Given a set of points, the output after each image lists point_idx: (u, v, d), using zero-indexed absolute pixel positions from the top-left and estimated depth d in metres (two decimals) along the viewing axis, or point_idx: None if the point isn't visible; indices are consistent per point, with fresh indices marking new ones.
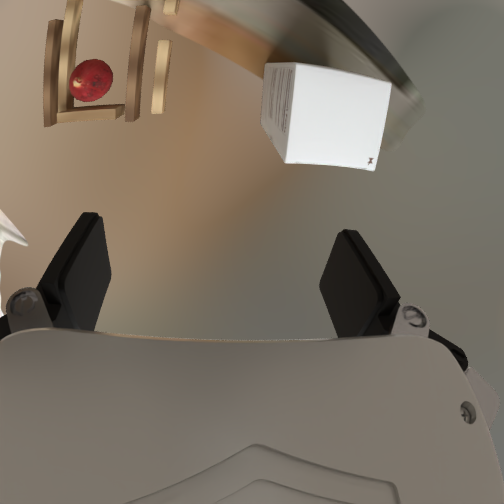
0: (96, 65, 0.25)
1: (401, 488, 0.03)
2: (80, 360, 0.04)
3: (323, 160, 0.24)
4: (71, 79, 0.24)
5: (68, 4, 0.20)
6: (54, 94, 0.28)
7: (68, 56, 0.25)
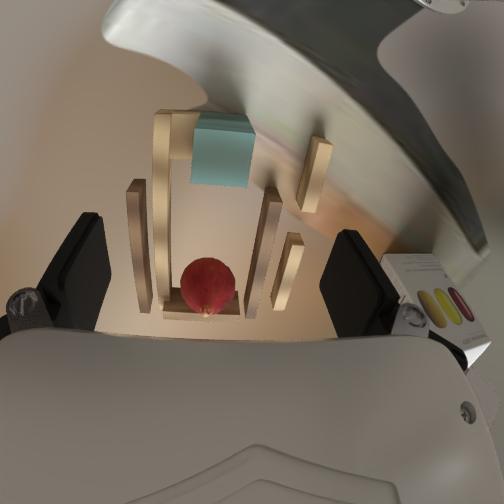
0: (223, 284, 0.28)
1: (401, 488, 0.03)
2: (80, 360, 0.04)
3: None
4: (190, 297, 0.28)
5: (153, 166, 0.23)
6: (148, 279, 0.32)
7: (167, 246, 0.28)
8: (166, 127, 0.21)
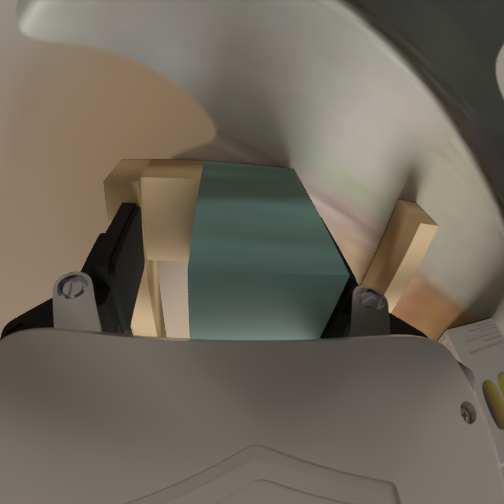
0: None
1: (401, 488, 0.03)
2: (80, 360, 0.04)
3: None
4: None
5: None
6: None
7: None
8: None
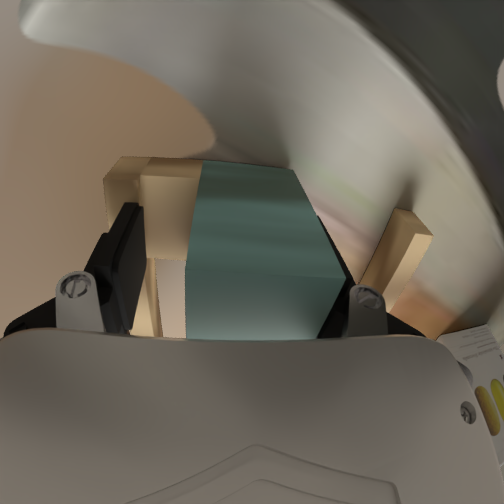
0: None
1: (401, 488, 0.03)
2: (80, 360, 0.04)
3: None
4: None
5: None
6: None
7: None
8: None
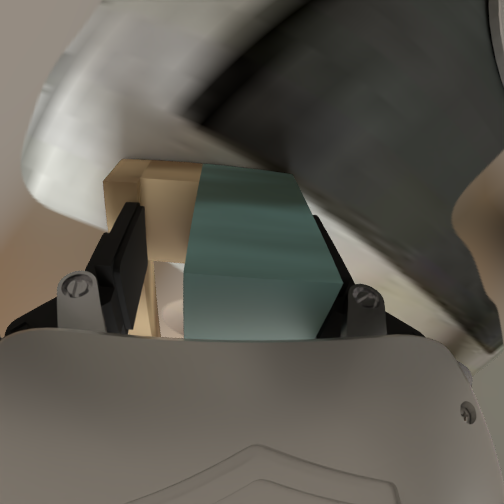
0: None
1: (401, 488, 0.03)
2: (80, 360, 0.04)
3: None
4: None
5: None
6: None
7: None
8: None
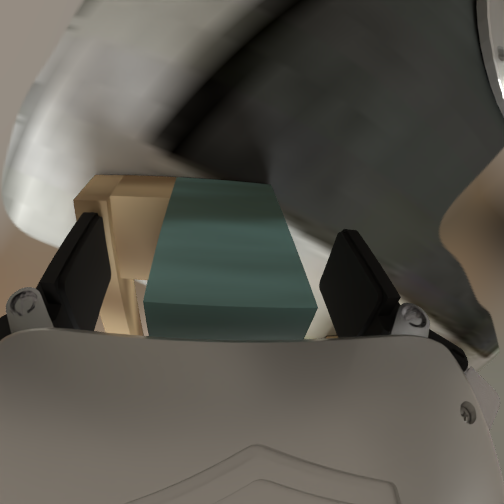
0: None
1: (401, 488, 0.03)
2: (80, 360, 0.04)
3: None
4: None
5: None
6: None
7: None
8: None
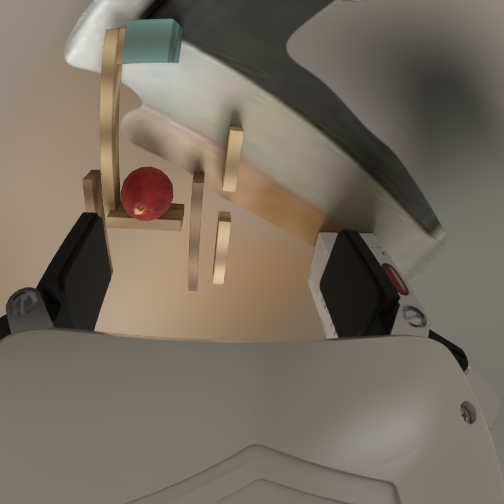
0: (156, 183, 0.27)
1: (401, 488, 0.03)
2: (80, 360, 0.04)
3: None
4: (126, 198, 0.27)
5: (102, 72, 0.22)
6: None
7: (112, 146, 0.27)
8: (114, 38, 0.20)
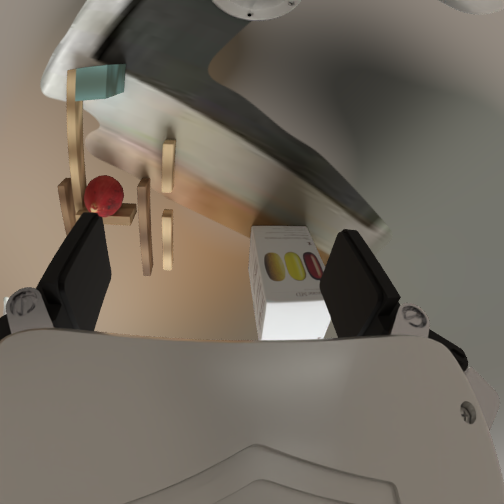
0: (108, 188, 0.34)
1: (401, 488, 0.03)
2: (80, 360, 0.04)
3: None
4: (86, 200, 0.34)
5: (67, 103, 0.29)
6: None
7: (77, 160, 0.33)
8: (74, 77, 0.26)
